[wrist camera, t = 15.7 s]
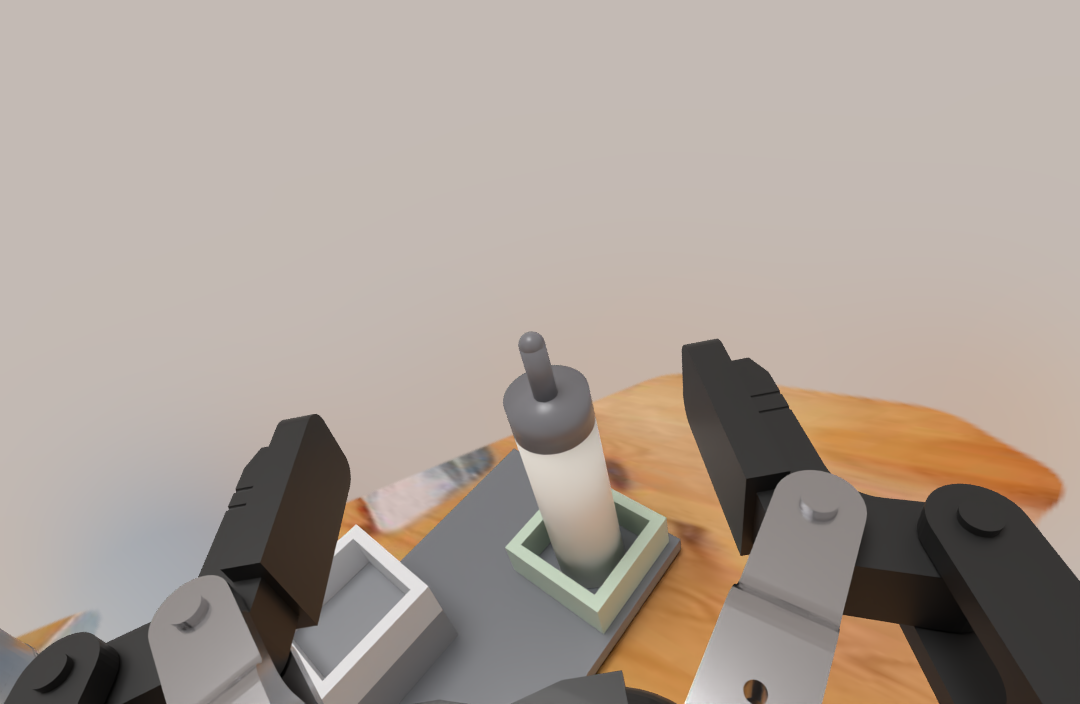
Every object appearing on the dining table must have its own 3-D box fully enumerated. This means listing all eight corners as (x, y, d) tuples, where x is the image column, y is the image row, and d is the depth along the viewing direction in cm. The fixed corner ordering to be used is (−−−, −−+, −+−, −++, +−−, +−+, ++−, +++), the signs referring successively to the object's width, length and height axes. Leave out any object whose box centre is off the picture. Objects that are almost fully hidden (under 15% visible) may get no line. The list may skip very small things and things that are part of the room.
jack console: (454, 879, 26) (405, 844, 22) (299, 676, 35) (243, 625, 31) (681, 548, 36) (675, 483, 32) (516, 457, 45) (496, 397, 41)
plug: (598, 601, 33) (532, 376, 23) (545, 565, 36) (464, 348, 25) (638, 547, 35) (594, 319, 25) (584, 517, 38) (525, 299, 28)
